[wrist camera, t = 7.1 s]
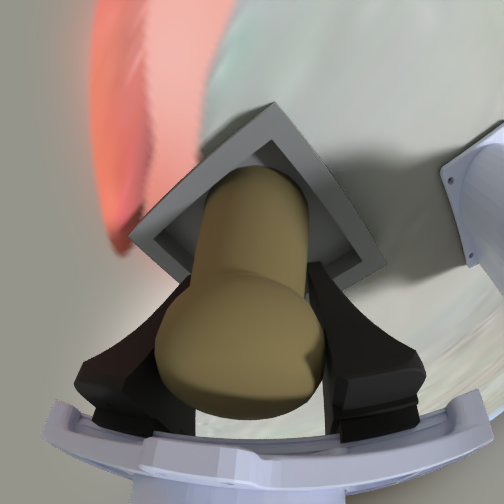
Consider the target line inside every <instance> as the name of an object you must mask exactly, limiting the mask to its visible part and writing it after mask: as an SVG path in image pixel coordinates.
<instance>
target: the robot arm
mask: <svg viewBox="0 0 504 504" xmlns="http://www.w3.org/2000/svg"><path fill="white" fill-rule="evenodd" d="M440 177H441V179H442V182H443V185H444V187H445V190H446V193H447V196H448V199H449V201H450V204H451V208H452V211H453V214H454V217H455V220H456V224H457V227H458V231H459V235H460V238H461V242H462V246H463V251H464V255H465V259H466V264H467V266H468V267H469V268H473V267H475V266H476V265H477V264H480V266H481V267H482V268H483V269H484V271H485V272H486V273H487V275H488V276H489V277H490V279H491V280H492V281H493V283H494V284H495V285H496V287H497V288H498V290H499V291H500V293H501V294H502V295H503V297H504V123H502V124H501V125H500V126H498V127H497V128H496V129H494V130H493V131H492V132H490V133H489V134H488V135H486V136H485V137H484V138H482V139H481V140H479V141H478V142H477V143H475V144H474V145H473V146H471V147H470V148H468V149H467V150H466V151H464V152H463V153H461V154H460V155H459V156H457V157H456V158H454V159H453V160H451V161H450V162H449V163H447V164H446V165H444V166H443V167H442V168H441V170H440ZM450 177H451V181H450V182H448V179H449V178H450ZM307 275H308V291H309V302H310V306H311V308H312V310H313V311H314V313H315V315H316V317H317V319H318V321H319V323H320V325H321V327H322V329H323V331H324V335H325V341H326V347H327V351H326V364H325V370H324V376H323V379H322V383H323V396H324V413H325V435H323V436H314V437H303V438H287V439H224V438H209V437H197V436H195V413H196V409H194V408H192V407H190V406H188V405H187V404H185V403H184V402H183V401H181V400H180V399H178V398H177V397H176V396H175V395H173V394H172V393H171V392H170V391H169V390H168V388H167V387H166V386H165V385H164V383H163V382H162V380H161V377H160V374H159V371H158V368H157V363H156V359H155V338H156V336H157V333H158V330H159V328H160V325H161V323H162V320H163V318H164V315H165V313H166V311H167V308H168V307H169V306H170V305H171V304H172V303H173V301H174V300H175V299H176V298H177V297H178V296H179V295H180V294H181V293H182V292H184V291H185V290H186V289H187V288H188V287H189V286H190V281H191V275H188V276H187V277H186V278H185V279H184V280H183V281H182V282H181V283H180V285H179V286H178V287H177V288H176V289H175V290H174V292H173V293H172V294H171V295H170V296H169V297H168V298H167V299H166V301H165V302H164V303H163V304H162V305H161V306H160V307H159V308H158V309H157V310H156V311H155V312H154V313H153V314H152V315H151V316H150V317H149V318H148V319H147V320H146V321H145V322H144V323H143V324H142V325H141V326H140V327H138V328H137V329H136V330H135V331H133V332H132V333H131V334H129V335H128V336H127V337H126V338H124V339H123V340H121V341H120V342H119V343H117V344H116V345H114V346H113V347H111V348H109V349H108V350H106V351H104V352H103V353H101V354H99V355H97V356H95V357H93V358H91V359H89V360H87V361H85V362H83V364H82V366H81V368H80V371H79V373H78V375H77V377H76V379H75V382H74V386H75V388H76V390H77V391H78V392H79V393H80V394H81V395H82V396H83V397H84V398H85V399H86V400H87V401H89V402H90V403H91V404H92V405H93V406H95V407H96V409H95V412H94V415H93V416H90V415H86V414H83V413H81V412H80V411H79V410H78V409H77V408H75V407H74V406H72V405H70V404H68V403H65V402H62V401H59V400H55V401H54V404H53V406H52V409H51V411H50V414H49V416H48V418H47V421H46V424H45V426H44V429H43V431H42V434H41V438H42V439H43V440H45V441H46V442H48V443H50V444H51V445H53V446H55V447H57V448H58V449H60V450H61V451H63V452H65V453H67V454H68V455H70V456H72V457H74V458H76V459H79V460H81V461H83V462H85V463H88V464H90V465H93V466H95V467H97V468H100V469H102V470H105V471H107V472H110V473H113V474H115V475H118V476H121V477H124V478H127V479H130V480H133V485H132V489H131V494H130V499H129V504H345V496H347V495H352V494H357V493H362V492H367V491H371V490H375V489H380V488H383V487H387V486H391V485H394V484H397V483H401V482H404V481H408V480H411V479H413V478H416V477H419V476H422V475H425V474H427V473H430V472H433V471H436V470H438V469H441V468H443V467H445V466H448V465H450V464H452V463H455V462H457V461H459V460H462V459H464V458H466V457H467V456H469V455H470V454H472V453H474V452H476V451H477V450H479V449H480V448H482V447H484V446H485V445H487V444H488V443H490V442H491V441H492V440H493V439H494V436H493V433H492V429H491V425H490V422H489V418H488V415H487V412H486V409H485V406H484V403H483V400H482V397H481V394H480V391H479V389H475V390H473V391H470V392H468V393H465V394H463V395H460V396H458V397H456V398H454V399H452V400H451V401H450V402H449V403H448V404H447V406H446V407H445V408H443V409H440V410H437V411H434V412H431V413H427V414H424V415H421V416H419V413H418V409H417V404H418V397H417V392H418V391H419V389H420V387H421V386H422V384H423V383H424V381H425V378H426V372H425V369H424V366H423V363H422V361H421V359H420V357H419V356H418V354H417V352H416V350H414V349H412V348H410V347H408V346H407V345H405V344H403V343H401V342H399V341H398V340H396V339H394V338H393V337H391V336H390V335H388V334H387V333H386V332H384V331H383V330H382V329H380V328H379V327H378V326H376V325H375V324H374V323H372V322H371V321H370V320H369V319H368V318H367V317H366V316H364V315H363V314H362V313H361V312H360V311H359V310H358V309H357V308H356V307H355V306H354V305H353V304H352V303H351V301H350V300H349V299H348V298H347V297H346V296H345V295H344V293H343V292H342V291H341V290H340V288H339V287H338V286H337V285H336V283H335V282H334V281H333V279H332V278H331V276H330V275H329V273H328V272H327V270H326V269H325V267H324V265H323V263H322V262H321V261H316V262H308V263H307Z"/></svg>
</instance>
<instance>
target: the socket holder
mask: <svg viewBox="0 0 504 504" xmlns="http://www.w3.org/2000/svg"><path fill="white" fill-rule="evenodd" d="M253 165H259V166H265V167H271V168H275V169H277V170H279V171H280V172H282V173H284V174H286V175H288V176H290V177H291V178H292V179H293V180H294V181H295V182H296V183H297V184H298V185H299V187H300V188H301V189H302V191H303V193H304V195H305V198H306V200H307V202H308V211H309V236H308V260H307V263H308V262H316V261H321V262H322V263H323V265H324V267H325V269H326V270H327V272H328V273H329V275H330V276H331V278H332V279H333V281H334V282H335V283H336V285H337V286H338V287H339V288H340V290H341V291H342V290H344V289H346V288H348V287H349V286H351V285H353V284H355V283H356V282H358V281H360V280H361V279H363V278H365V277H367V276H368V275H370V274H372V273H373V272H375V271H377V270H378V269H380V268H382V267H383V266H385V265H387V263H386V261H385V259H384V257H383V255H382V253H381V251H380V249H379V248H378V246H377V244H376V242H375V241H374V239H373V237H372V236H371V234H370V232H369V231H368V229H367V227H366V226H365V224H364V222H363V221H362V219H361V218H360V216H359V214H358V213H357V211H356V210H355V208H354V207H353V205H352V204H351V202H350V200H349V199H348V197H347V196H346V194H345V193H344V191H343V190H342V189H341V187H340V186H339V184H338V183H337V181H336V180H335V178H334V177H333V175H332V174H331V173H330V171H329V170H328V168H327V167H326V166H325V164H324V163H323V162H322V160H321V159H320V157H319V156H318V155H317V153H316V152H315V151H314V149H313V148H312V147H311V145H310V144H309V143H308V141H307V140H306V139H305V138H304V136H303V135H302V134H301V133H300V131H299V130H298V129H297V127H296V126H295V125H294V124H293V123H292V121H291V120H290V119H289V118H288V116H287V115H286V114H285V113H284V112H283V110H282V109H281V108H280V107H279V106H278V105H277V103H276V102H274V103H272V104H271V105H270V106H268V107H267V108H266V109H264V110H263V111H262V112H260V113H259V114H258V115H256V116H255V117H254V118H253V119H251V120H250V121H249V122H247V123H246V124H245V125H244V126H242V127H241V128H240V129H239V130H237V131H236V132H235V133H234V134H233V135H231V136H230V137H229V138H228V139H227V140H225V141H224V142H223V143H222V144H221V145H219V146H218V147H217V148H216V149H215V150H214V151H212V152H211V153H210V154H209V155H208V156H207V157H206V158H204V159H203V160H202V161H201V162H200V163H199V164H198V165H197V166H196V167H194V168H193V169H192V170H191V171H190V172H189V173H188V174H187V175H186V176H185V177H184V178H183V179H181V180H180V181H179V182H178V183H177V184H176V185H175V186H174V187H173V188H172V189H171V190H170V191H169V192H168V193H167V194H166V195H165V196H164V197H163V198H162V199H161V200H160V201H159V202H158V203H157V204H156V205H155V206H154V207H153V208H152V209H151V210H150V211H149V212H148V213H147V214H146V215H145V216H144V217H143V218H142V219H141V220H140V221H139V223H138V224H137V225H136V226H135V228H134V229H133V230H132V231H131V233H130V234H129V235H128V236H127V237H128V238H129V239H131V240H132V241H133V242H134V243H135V244H136V245H137V246H138V247H139V248H140V249H141V250H142V251H143V252H145V253H146V254H147V255H148V256H149V257H150V258H151V259H152V260H153V261H155V262H156V263H157V264H158V265H159V266H160V267H161V268H162V269H163V270H165V271H166V272H167V273H168V274H169V275H171V276H172V277H173V278H174V279H175V280H176V281H177V282H178V283H181V282H182V281H183V280H184V279H185V278H186V277H187V276H188V275H192V269H193V263H194V257H195V251H196V245H197V240H198V234H199V229H200V224H201V219H202V213H203V208H204V203H205V200H206V197H207V195H208V193H209V191H210V189H211V187H212V186H213V185H214V184H216V183H217V182H218V181H219V180H220V179H222V178H223V177H224V176H225V175H227V174H228V173H229V172H230V171H232V170H234V169H236V168H239V167H246V166H253ZM305 300H306V301H307V302H308V303H309V304H310V302H309V291H308V275H307V279H306V295H305Z"/></svg>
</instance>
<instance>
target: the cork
mask: <svg viewBox="0 0 504 504" xmlns="http://www.w3.org/2000/svg"><path fill="white" fill-rule="evenodd" d="M308 236H309V211H308V202H307V200H306V198H305V195H304V193H303V191H302V189H301V188H300V187H299V185H298V184H297V183H296V182H295V181H294V180H293V179H292V178H291V177H290V176H288V175H286V174H284V173H282V172H280V171H279V170H277V169H275V168H271V167H265V166H259V165H253V166H246V167H239V168H236V169H234V170H232V171H230V172H229V173H228V174H227V175H225V176H224V177H223V178H222V179H220V180H219V181H218V182H217V183H216V184H214V185H213V186H212V187H211V189H210V191H209V193H208V195H207V197H206V200H205V203H204V208H203V213H202V219H201V224H200V229H199V234H198V240H197V245H196V251H195V257H194V263H193V269H192V275H191V281H190V286H189V287H188V288H187V289H186V290H185V291H184V292H182V293H181V294H180V295H179V296H178V297H177V298H176V299H175V300H174V301H173V303H172V304H171V305H170V306H169V307H168V308H167V311H166V313H165V315H164V318H163V320H162V323H161V325H160V328H159V330H158V333H157V336H156V338H155V359H156V363H157V368H158V371H159V374H160V377H161V380H162V382H163V383H164V385H165V386H166V387H167V388H168V390H169V391H170V392H171V393H172V394H173V395H175V396H176V397H177V398H178V399H180V400H181V401H183V402H184V403H185V404H187V405H188V406H190V407H192V408H194V409H197V410H199V411H201V412H204V413H207V414H210V415H214V416H218V417H221V418H228V419H236V420H260V419H268V418H274V417H277V416H280V415H284V414H287V413H289V412H291V411H293V410H295V409H297V408H298V407H300V406H302V405H303V404H305V403H307V402H308V400H309V399H310V398H311V397H312V395H313V394H314V393H315V391H316V389H317V388H318V386H319V384H320V383H321V381H322V379H323V376H324V370H325V364H326V351H327V347H326V341H325V335H324V331H323V329H322V327H321V325H320V323H319V321H318V319H317V317H316V315H315V313H314V311H313V310H312V308H311V306H310V304H309V303H308V302H307V301H306V300H305V295H306V279H307V260H308Z"/></svg>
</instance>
